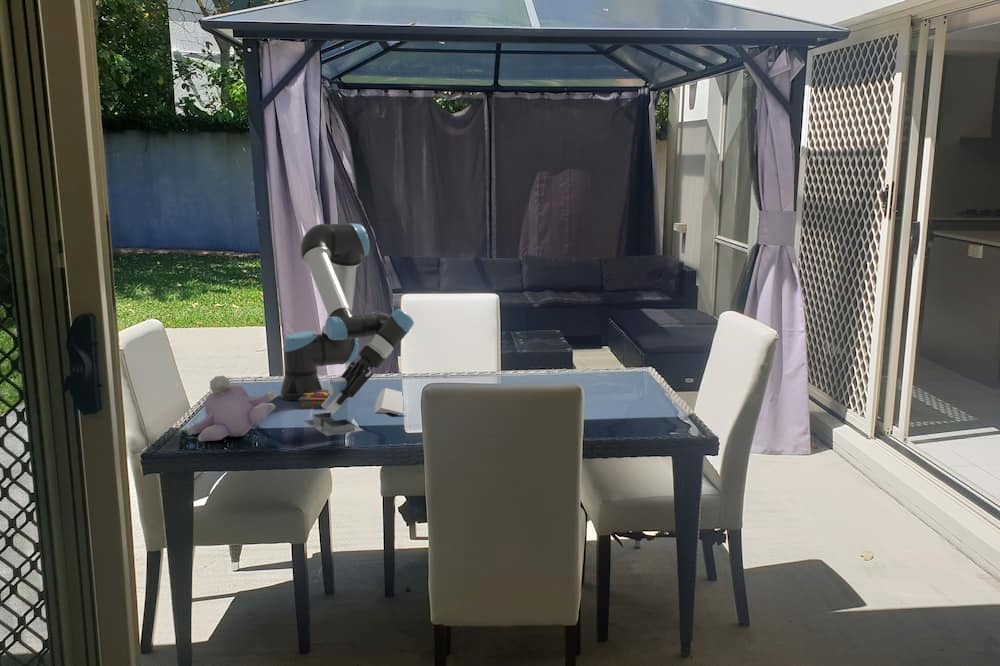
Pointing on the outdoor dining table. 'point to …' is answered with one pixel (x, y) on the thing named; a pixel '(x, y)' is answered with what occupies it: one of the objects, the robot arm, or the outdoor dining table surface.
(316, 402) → the decorative book
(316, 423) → the panel
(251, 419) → the toy
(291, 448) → the outdoor dining table surface
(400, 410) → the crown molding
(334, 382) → the plug
